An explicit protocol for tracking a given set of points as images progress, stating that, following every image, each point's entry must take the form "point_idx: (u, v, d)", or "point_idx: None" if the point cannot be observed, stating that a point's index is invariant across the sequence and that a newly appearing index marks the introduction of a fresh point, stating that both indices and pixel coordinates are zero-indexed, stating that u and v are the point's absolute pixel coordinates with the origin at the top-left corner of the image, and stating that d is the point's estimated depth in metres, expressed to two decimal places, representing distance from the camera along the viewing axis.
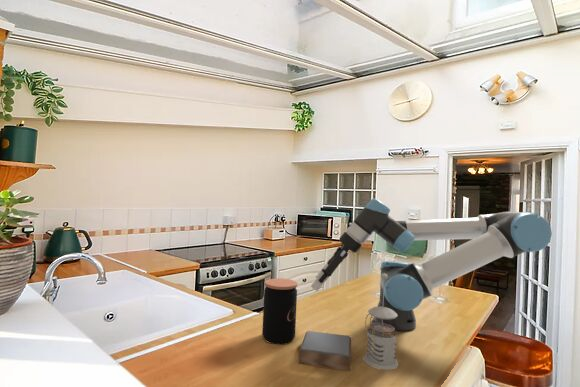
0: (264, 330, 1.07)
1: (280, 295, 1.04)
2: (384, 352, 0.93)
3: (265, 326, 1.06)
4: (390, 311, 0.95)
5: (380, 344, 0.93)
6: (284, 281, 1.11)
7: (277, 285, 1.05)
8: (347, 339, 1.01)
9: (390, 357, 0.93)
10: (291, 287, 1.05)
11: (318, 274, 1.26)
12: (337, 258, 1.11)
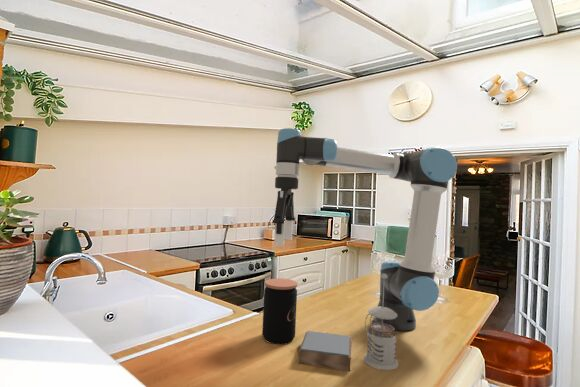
0: (264, 330, 1.07)
1: (280, 295, 1.04)
2: (384, 352, 0.93)
3: (265, 326, 1.06)
4: (390, 311, 0.95)
5: (380, 344, 0.93)
6: (284, 281, 1.11)
7: (277, 285, 1.05)
8: (347, 339, 1.01)
9: (390, 357, 0.93)
10: (291, 287, 1.05)
11: (284, 234, 1.16)
12: (279, 202, 1.03)
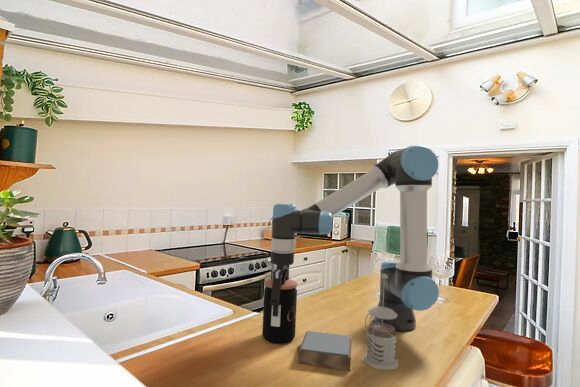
0: (264, 330, 1.07)
1: None
2: (384, 352, 0.93)
3: (265, 326, 1.06)
4: (390, 311, 0.95)
5: (380, 344, 0.93)
6: None
7: None
8: (347, 339, 1.01)
9: (390, 357, 0.93)
10: (291, 287, 1.05)
11: None
12: (274, 284, 1.02)
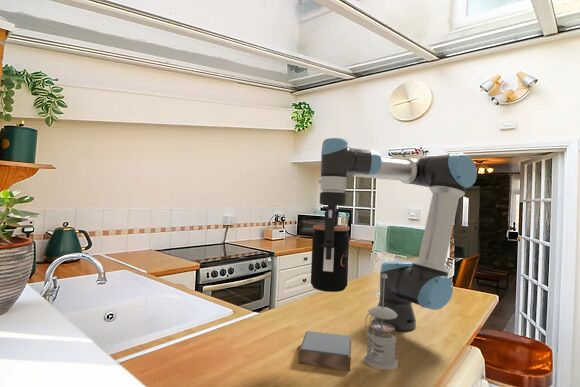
0: (314, 278, 0.96)
1: None
2: (384, 352, 0.93)
3: (316, 273, 0.96)
4: (390, 311, 0.95)
5: (380, 344, 0.93)
6: None
7: None
8: (347, 339, 1.01)
9: (390, 357, 0.93)
10: (344, 229, 0.95)
11: None
12: (328, 223, 0.92)
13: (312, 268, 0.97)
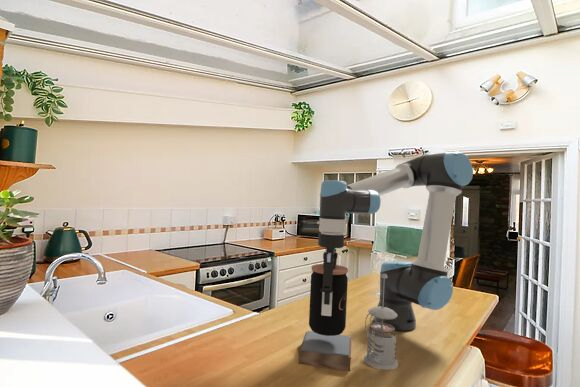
0: (312, 321, 0.96)
1: None
2: (384, 352, 0.93)
3: (314, 316, 0.95)
4: (390, 311, 0.95)
5: (380, 344, 0.93)
6: None
7: None
8: (347, 339, 1.01)
9: (390, 357, 0.93)
10: (343, 272, 0.95)
11: None
12: (326, 268, 0.92)
13: (310, 310, 0.97)
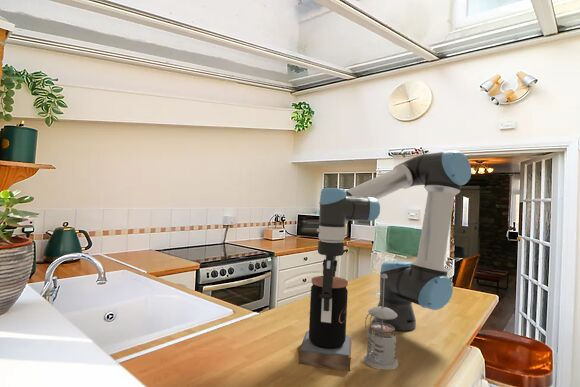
0: (312, 333, 0.96)
1: None
2: (384, 352, 0.93)
3: (314, 329, 0.95)
4: (390, 311, 0.95)
5: (380, 344, 0.93)
6: None
7: None
8: (347, 339, 1.01)
9: (390, 357, 0.93)
10: (343, 285, 0.95)
11: None
12: (326, 274, 0.91)
13: (310, 323, 0.97)
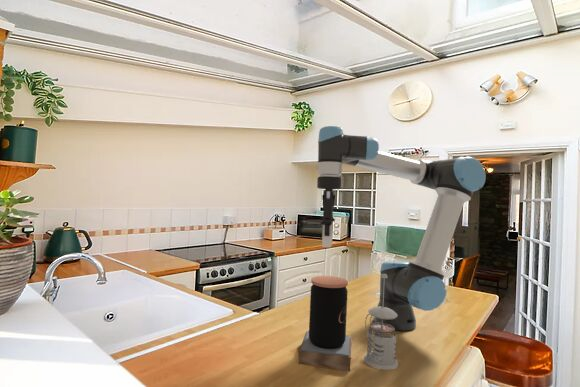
0: (312, 333, 0.96)
1: (331, 294, 0.93)
2: (384, 352, 0.93)
3: (314, 329, 0.95)
4: (390, 311, 0.95)
5: (380, 344, 0.93)
6: (332, 279, 1.00)
7: (327, 283, 0.95)
8: (347, 339, 1.01)
9: (390, 357, 0.93)
10: (343, 285, 0.95)
11: None
12: (326, 203, 0.99)
13: (310, 323, 0.97)
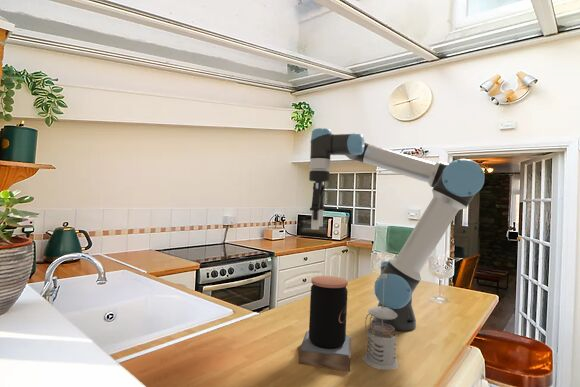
0: (312, 333, 0.96)
1: (331, 294, 0.93)
2: (384, 352, 0.93)
3: (314, 329, 0.95)
4: (390, 311, 0.95)
5: (380, 344, 0.93)
6: (332, 279, 1.00)
7: (327, 283, 0.95)
8: (347, 339, 1.01)
9: (390, 357, 0.93)
10: (343, 285, 0.95)
11: None
12: (315, 192, 1.18)
13: (310, 323, 0.97)
